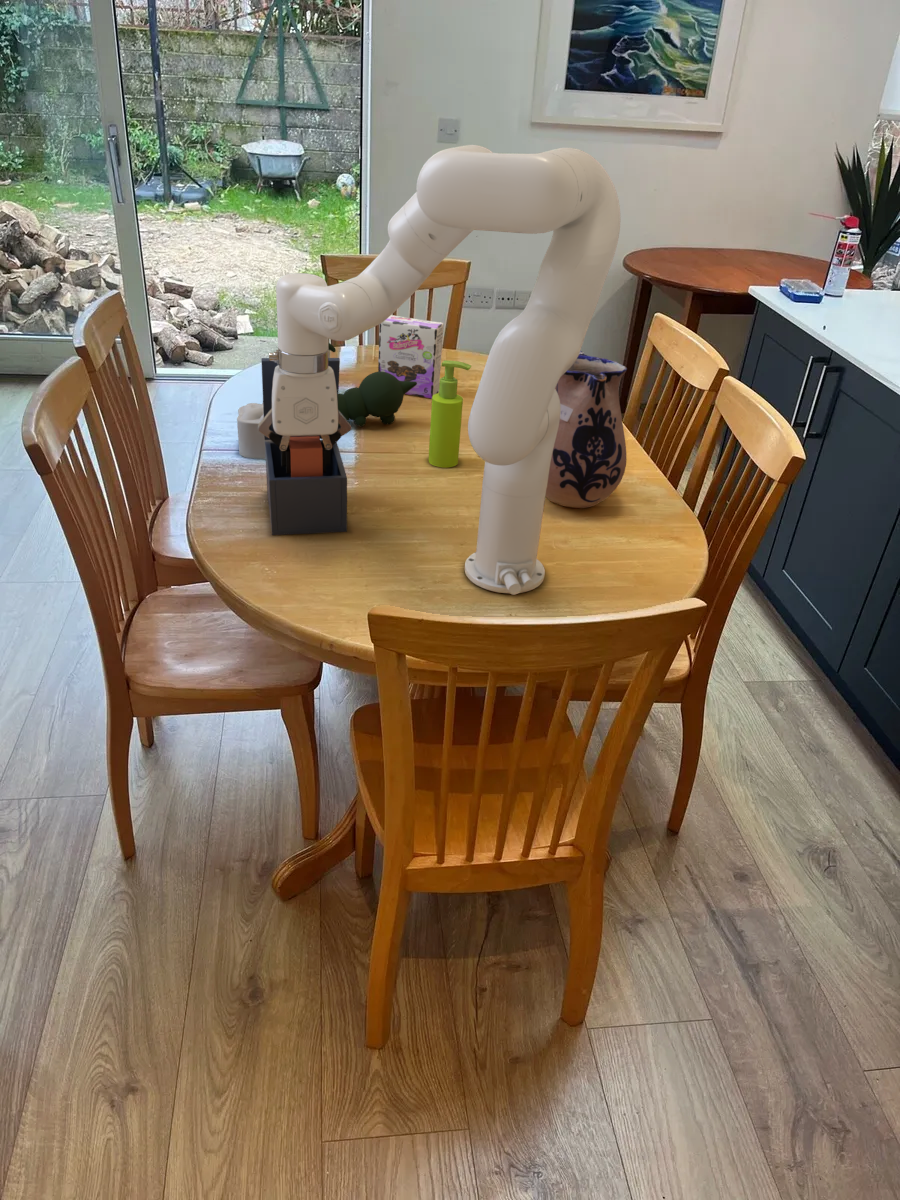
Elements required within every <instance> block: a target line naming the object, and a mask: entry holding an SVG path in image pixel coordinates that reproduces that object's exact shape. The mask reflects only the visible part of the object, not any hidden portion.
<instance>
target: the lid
mask: <svg viewBox="0 0 900 1200" xmlns="http://www.w3.org/2000/svg"><path fill="white" fill-rule="evenodd" d="M260 361H261V384H262V385H261V387H262V403H263V414H264V417H265V416H266V415H267V413H268V412H269V411H270V410H271V408H272V387H273V376H274V371H275V367H276V366H278V365H279V364H277V362H269V357H260ZM340 364H341V359H340V357H330V358H328V366H330V367H331V368H332V369H333V371H334V376H335V381H336V389H337V403H338V394H339V391H340V390H339V389H340V388H339V387H340V367H341V366H340ZM269 427H270V428H271V429H272V430H274V428H273V423H272V424H271V425H270V426H269ZM313 436H319V437H320V440H322V437H321V435H313ZM291 437H311V436H291ZM264 438H265V440H270V439H269V438H268V437H266V436H265V435H264Z"/></svg>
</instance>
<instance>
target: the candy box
mask: <svg viewBox="0 0 900 1200" xmlns="http://www.w3.org/2000/svg"><path fill="white" fill-rule="evenodd" d="M444 327H445V323H444V322H441V321H434V320H427V319H426V320H425V319H419V318H412V317H406V316H399V315H393V314H392V315H391V316H390V317H388V318H387V319H386V320H385V321H384V322H382V323H381V324H379V328H378V329H379V333H378V363H377V364H378V366H377V370H378V371H377V372H379V371H382V372H387V373H390V374H392V375H393V376H395V377H396V378H397V379H398V380H399V381H412V382H417V385H416V386H414V387H413V388H412V389H410V390H409V391H408V392H407V393H405V394H404V395H408V396H413V397H414V396H415V397H420V398H426V399H430V400H432V396H433V395H434V394H437V393H439V385H440V378H441V369H442V355H443V354H442V353H443V338H444V337H443V336H444Z"/></svg>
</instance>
